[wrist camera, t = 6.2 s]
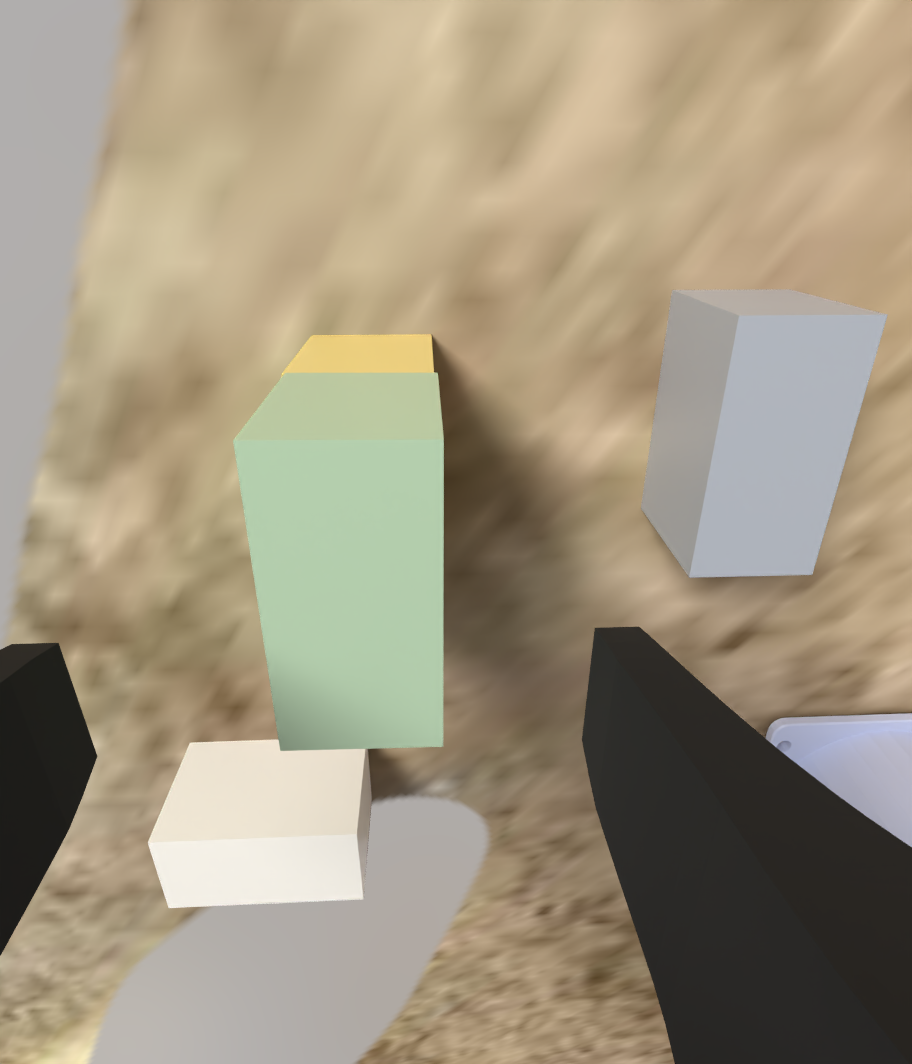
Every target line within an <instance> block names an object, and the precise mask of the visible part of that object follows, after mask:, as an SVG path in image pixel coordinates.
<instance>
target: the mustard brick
mask: <svg viewBox="0 0 912 1064" xmlns="http://www.w3.org/2000/svg"><path fill="white" fill-rule="evenodd" d="M285 373H434V365H433V351H432V336H431V334H420V335H312V336H311V337H310V338H309V339H308V341H307V342H306V343H305V345H304V346H303V347H302V348H301V350H300V351H299V352H298V354H297V355H296V356H295V357H294V359H293V360H292V361H291V363H290V364H289V365H288V366H287V368H286V369H285V370H284V372H283V373H282V374H281V375H282V376H283V375H284V374H285Z"/></svg>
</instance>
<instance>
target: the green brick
mask: <svg viewBox="0 0 912 1064" xmlns="http://www.w3.org/2000/svg"><path fill="white" fill-rule="evenodd" d="M233 442H234V449H235V455H236V462H237V469H238V475H239V482H240V488H241V495H242V502H243V508H244V515H245V521H246V528H247V535H248V541H249V548H250V554H251V561H252V567H253V574H254V581H255V587H256V594H257V600H258V607H259V614H260V620H261V627H262V633H263V640H264V647H265V653H266V660H267V666H268V673H269V680H270V686H271V693H272V699H273V706H274V713H275V719H276V726H277V732H278V739H279V746H280V751H298V750H336V749H373V748H411V747H443V557H444V437H443V426H442V414H441V403H440V392H439V380H438V373H285V374H284V375H283V376H282V378H281V379H280V380H279V382H278V383H277V384H276V385H275V387H274V388H273V389H272V391H271V392H270V393H269V395H268V396H267V397H266V398H265V400H264V401H263V402H262V404H261V405H260V406H259V408H258V409H257V410H256V412H255V413H254V414H253V415H252V417H251V418H250V419H249V421H248V422H247V423H246V425H245V426H244V427H243V428H242V430H241V431H240V432H239V434H238V435H237V436H236V438H235V439H234V440H233Z"/></svg>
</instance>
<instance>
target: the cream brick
mask: <svg viewBox="0 0 912 1064" xmlns="http://www.w3.org/2000/svg"><path fill="white" fill-rule="evenodd" d="M371 803H372V793H371V781H370V770H369V758H368V749H336V750H298V751H280V746H279V740H254V741H225V742H196V743H190V744H189V746H188V749H187V751H186V754H185V756H184V758H183V761H182V763H181V765H180V768H179V770H178V772H177V775H176V777H175V780H174V782H173V784H172V787H171V789H170V791H169V794H168V796H167V799H166V801H165V803H164V806H163V808H162V810H161V813H160V815H159V817H158V820H157V822H156V825H155V827H154V829H153V832H152V834H151V836H150V839H149V841H148V845H149V848H150V851H151V854H152V857H153V860H154V863H155V867H156V870H157V873H158V876H159V879H160V882H161V885H162V888H163V892H164V895H165V898H166V901H167V904H168V907H169V908H178V907H200V906H221V905H222V906H223V905H242V904H243V905H245V904H265V903H266V904H267V903H290V902H311V901H333V900H357V899H363V898H364V887H365V875H366V863H367V851H368V850H367V849H368V839H369V826H370V815H371V814H370V813H371Z"/></svg>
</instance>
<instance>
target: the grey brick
mask: <svg viewBox="0 0 912 1064" xmlns="http://www.w3.org/2000/svg"><path fill="white" fill-rule="evenodd" d="M886 318H887V314H883V313H879V312H875V311H871V310H867V309H864V308H860V307H856V306H852V305H848V304H844V303H840V302H837V301H833V300H829V299H825V298H821V297H817V296H813V295H809V294H806V293H802V292H798V291H794V290H790V289H789V290H672V296H671V303H670V310H669V317H668V324H667V331H666V338H665V344H664V351H663V358H662V365H661V372H660V379H659V386H658V393H657V400H656V407H655V414H654V421H653V428H652V435H651V442H650V449H649V456H648V463H647V470H646V477H645V484H644V490H643V497H642V504H641V509H642V510H643V512H644V513H645V515H646V516H647V518H648V519H649V521H650V522H651V523H652V525H653V526H654V528H655V529H656V531H657V532H658V533H659V535H660V536H661V538H662V539H663V541H664V542H665V544H666V545H667V546H668V548H669V549H670V551H671V552H672V554H673V555H674V556H675V558H676V559H677V561H678V562H679V564H680V565H681V567H682V568H683V569H684V571H685V572H686V574H687V575H688V577H689V578H692V577H736V576H780V575H812V574H813V570H814V567H815V563H816V560H817V557H818V553H819V550H820V546H821V543H822V539H823V536H824V532H825V529H826V525H827V522H828V519H829V515H830V512H831V508H832V505H833V501H834V498H835V494H836V491H837V488H838V484H839V481H840V477H841V474H842V470H843V467H844V463H845V460H846V456H847V453H848V450H849V446H850V443H851V439H852V436H853V432H854V429H855V425H856V422H857V419H858V415H859V412H860V408H861V405H862V401H863V398H864V394H865V391H866V387H867V384H868V381H869V377H870V374H871V370H872V367H873V363H874V360H875V356H876V353H877V349H878V346H879V343H880V339H881V336H882V332H883V329H884V325H885V322H886Z"/></svg>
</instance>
